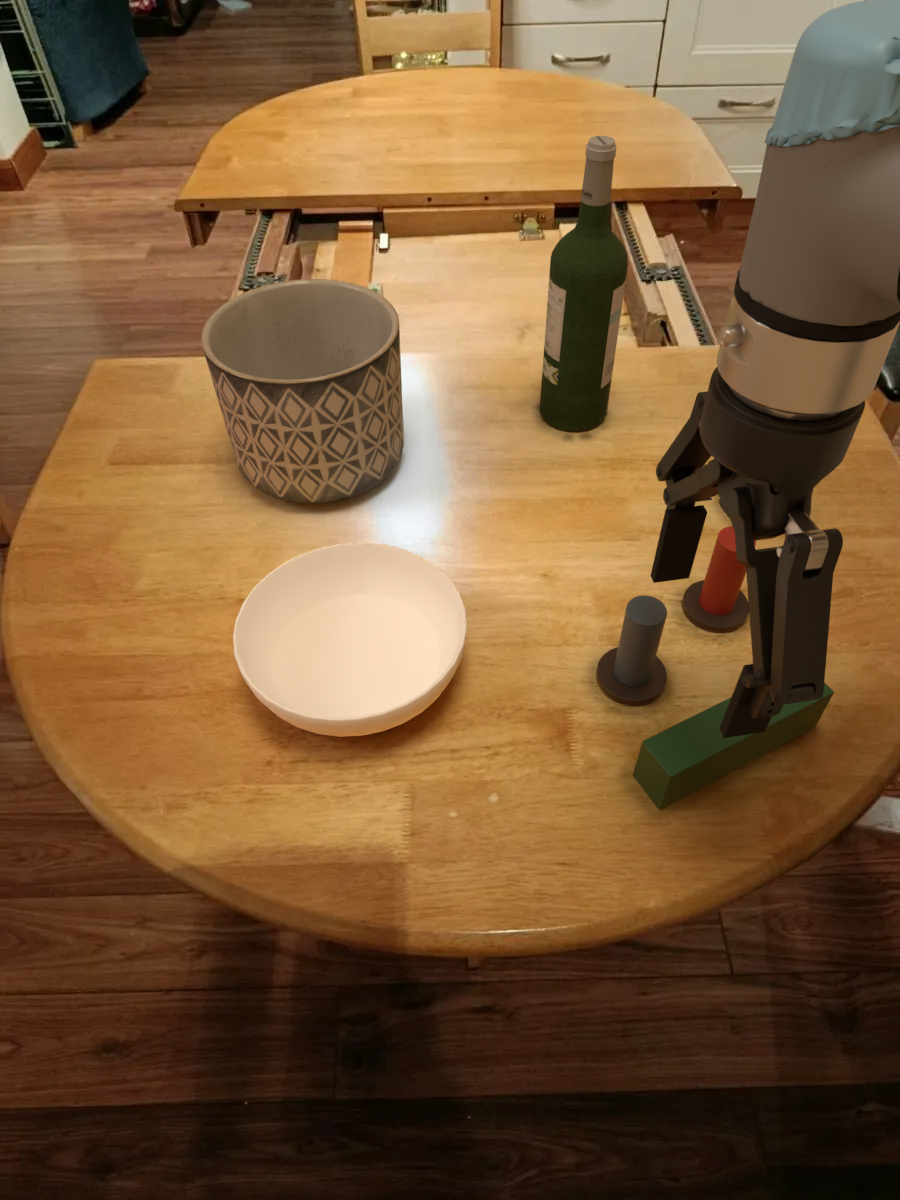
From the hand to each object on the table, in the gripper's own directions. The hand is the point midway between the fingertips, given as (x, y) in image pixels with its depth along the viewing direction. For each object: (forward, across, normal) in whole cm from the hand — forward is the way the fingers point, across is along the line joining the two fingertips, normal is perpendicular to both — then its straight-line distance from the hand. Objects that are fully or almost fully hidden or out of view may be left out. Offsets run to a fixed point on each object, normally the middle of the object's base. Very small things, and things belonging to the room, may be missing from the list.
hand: (702, 648), depth 58 cm
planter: (+14, -44, -25) cm, 52 cm away
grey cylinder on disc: (+14, -8, 0) cm, 16 cm away
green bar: (+14, 0, +5) cm, 15 cm away
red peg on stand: (+14, -15, +10) cm, 23 cm away
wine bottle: (+14, -47, +5) cm, 49 cm away
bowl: (+14, -14, -24) cm, 31 cm away
